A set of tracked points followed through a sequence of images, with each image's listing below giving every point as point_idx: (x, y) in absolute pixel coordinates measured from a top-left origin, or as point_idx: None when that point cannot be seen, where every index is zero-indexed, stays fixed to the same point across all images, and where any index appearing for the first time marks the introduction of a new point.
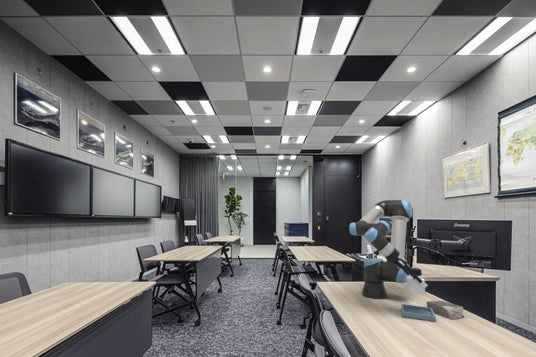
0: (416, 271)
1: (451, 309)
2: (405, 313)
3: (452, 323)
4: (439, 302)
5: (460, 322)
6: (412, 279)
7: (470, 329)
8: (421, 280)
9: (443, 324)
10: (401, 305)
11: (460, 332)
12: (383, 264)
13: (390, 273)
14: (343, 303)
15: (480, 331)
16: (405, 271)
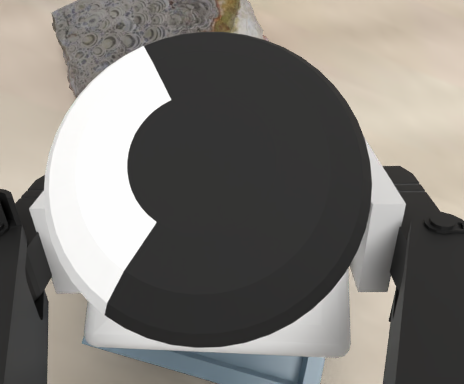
0: (366, 192)
1: (258, 32)
2: (319, 382)
3: (346, 97)
4: (108, 51)
5: (314, 46)
6: (349, 312)
7: (421, 42)
8: (415, 178)
9: (380, 157)
10: (126, 356)
11: None
12: None
13: None
14: None
15: (436, 6)
16: (42, 381)
